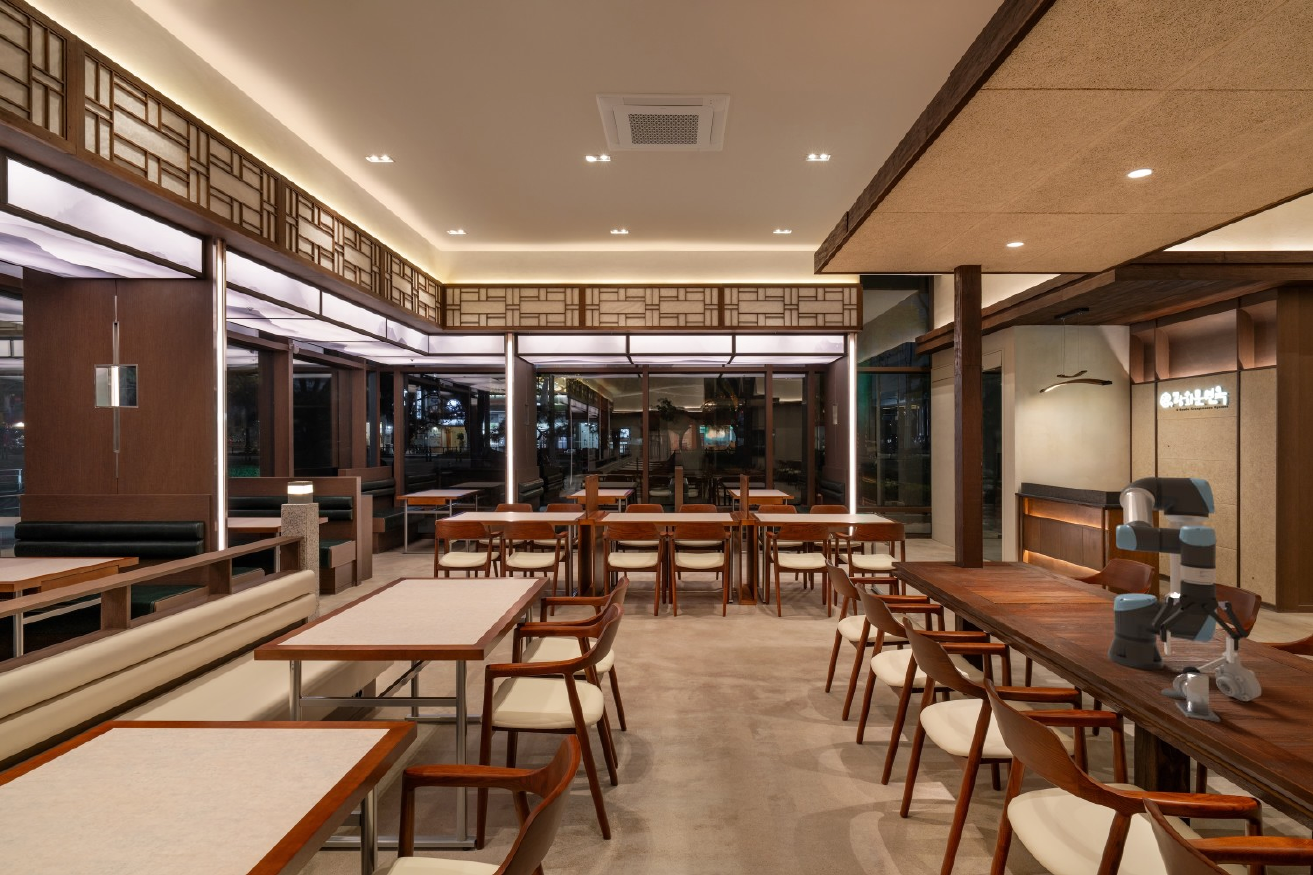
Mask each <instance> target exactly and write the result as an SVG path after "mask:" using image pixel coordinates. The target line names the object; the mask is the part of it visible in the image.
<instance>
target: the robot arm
mask: <svg viewBox="0 0 1313 875" xmlns="http://www.w3.org/2000/svg"><path fill="white" fill-rule="evenodd" d="M1119 494H1120V495H1119V503H1120V506H1121V507H1122V509H1123V510H1122V512H1123V524H1119V525H1116V529H1115V535H1116V536H1115V537H1116V539H1115V540H1116V544H1115V545H1116V547H1117V548H1118V549H1121V550H1128V551H1133V552H1134V551H1137V552H1138V551H1139V552H1148V553H1149V552H1150V553H1161V554H1162V553H1163V554H1169V570H1170V571H1169V573H1170V574H1169V575H1170V580H1169V581H1170V582H1169V583H1170V584H1169V585H1170V588H1169V590H1170V591H1169V592H1168V593H1167V594H1166V595H1164V601H1163V600H1158V598H1157V596H1155V595H1153V594H1147V593H1123V594H1122V593H1121V594H1119V595H1117V596H1115V598H1114V601H1113V602H1114V607H1113V611H1114V616H1113V617H1114V619H1113V620H1114V621H1113V622H1114V624H1113V625H1114V626H1113V627H1114V628H1113V629H1114V630H1113V639H1112V640H1111V643H1110V645H1109V648H1108V652H1107V657H1108V659H1109V660H1110V661H1111V662H1113V663H1116V664H1118V665H1121V666H1125V667H1128V668H1134V669H1138V670H1147V671H1148V670H1149V671H1150V670H1151V671H1155V670H1156V671H1157V670H1162V669H1163V668H1164V666H1165V665H1164V658H1163V656H1162V653H1161V650H1160V649H1159V648H1160V647H1159V646H1158V640H1157V638H1158V636H1159V639H1160V641H1161V642H1162V643H1163V645H1164V651H1163V652H1164V653H1165V655H1167V656H1172V654H1171V653H1172V652H1171V650H1172V646H1171V642H1172V641H1171V640H1172V639H1178V640H1185V641H1191V642H1197V643H1198V642H1200V643H1209V642H1212V640H1213V638H1214V635H1215V632H1216V628H1217V627H1216V626H1217V624H1218V625H1219V626H1220V627H1221V628H1222V629H1223V630H1224V631H1225V632H1226V633H1227V634H1228V636H1226V637H1225V641H1226V642H1225V645H1226V648H1225V649H1226V650H1225V651H1226V660H1227V661H1229V662H1230V663H1234V652H1236V651H1239V647H1240V646H1239V644H1240V643H1239V641H1240V640H1241V639H1246V638H1249V635H1248V634H1247V632H1246V630H1245V629H1244V626H1242V623H1241V622H1240V620H1239V618H1238V616H1236V614H1235V612H1234V611H1233V604H1232V603H1231V602H1229V601H1228V600H1223V601H1218V600H1217V584H1215V583H1216V582H1217V570H1216V569H1217V567H1216V564H1217V563H1216V562H1217V561H1216V560H1217V559H1216V558H1217V556H1216V554H1217V548H1216V547H1217V546H1216V545H1217V536H1216V530H1215V529H1214V528H1213V527H1211V526H1204V523H1205V522H1206V521H1208V520H1209V518H1210V516H1209V515H1211V514H1214V513H1216V512H1215V510H1216V508H1215V500H1214V499H1215V498H1214V494H1213V490H1212V487H1211V484H1210V483H1209V481H1208V480H1206V479H1204V478H1197V477H1196V478H1195V477H1194V478H1193V477H1163V476H1162V477H1158V476H1149V477H1142V478H1139V479H1136V480H1134V481H1131V482H1130V483H1129V484H1127V485H1126V486H1125V487H1123V489H1122V490H1121V492H1120V493H1119ZM1153 511H1160V512H1162V511H1163V517H1164V518H1165V519H1166V520H1168V523H1169V527H1158V526H1155V525H1154V518H1153ZM1154 526H1155V527H1154ZM1219 607H1220V609H1222V610H1223V611H1224V613H1225V614H1226V616H1227V618H1228V619H1229V621H1230V622H1231V624H1232V626H1233V628H1234V629H1235V630H1234V629H1232V627H1231V626H1229V625H1228V624H1227V623H1226V622H1225V621H1224V620H1223V619H1222V617H1220V615H1219V614H1218V609H1217V608H1219Z"/></svg>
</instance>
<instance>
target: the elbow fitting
mask: <svg viewBox="0 0 1313 875" xmlns="http://www.w3.org/2000/svg"><path fill="white" fill-rule="evenodd" d="M1209 678H1210V677H1209V676H1208V675H1206V674H1203V673H1201V674H1200V673H1194V672H1188V673H1187V674H1183V673H1181V674H1178V675H1177V676H1175V678H1174V679H1173V682H1172V687H1173V690H1175V691H1176V692H1177V693H1178V694H1179V695H1180V696H1182V697H1184V698H1186V699H1185V700H1186V702H1184V701H1178V700H1177V701H1175V702H1174V703H1175V706H1176V707H1177V708H1178V709H1179V710H1180V711H1181V712H1182V713H1183V715H1184V716H1185V717H1186V718H1188V717H1190V718H1189V719H1195V718H1196V719H1195V720H1202V719H1204V720H1203V721H1208V720H1210V721H1209V722H1215V723H1220V722H1221V718H1220V717H1219V716H1218V715H1217V714H1215V712H1214V711H1213V710H1212V709H1211V708H1210V705H1209V704H1210V699H1209V698H1210V694H1209V691H1210V689H1209V688H1210V685H1209V684H1210V681H1209V680H1210V679H1209Z"/></svg>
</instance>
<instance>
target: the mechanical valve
mask: <svg viewBox="0 0 1313 875" xmlns="http://www.w3.org/2000/svg"><path fill="white" fill-rule="evenodd" d="M1212 669H1214V677H1215V683H1216V685H1217V687H1218V689H1219V690H1220V691H1221V692H1222V693H1223V694H1225V695H1226V696H1229V697H1233V698H1235V699H1237V700H1239V701H1242V702H1248V701H1252V700H1253V699H1256V698H1259V697H1260V696H1261V695H1262V686H1261V685H1260V683H1259V681H1258V679H1257V677H1256V673H1255V672H1254V671H1253V670H1251V669H1250V670H1248V668H1246V667H1244V666H1243V665H1242V662H1241V659H1240V656H1239V654H1238V653H1237V652H1236V651H1234V663H1230V662H1229V661H1227V660H1226V650H1225V651H1224V652H1222V653H1221V657H1220V658H1218V659H1215V660H1212V661H1211V662H1208V663H1206V664H1204V665H1202V666H1199V667H1195V666H1191V665H1189V666H1186V667H1183V669H1182V674H1187V673H1188V672H1194V673H1200V674H1203V673H1204V672H1206V671H1209V670H1212Z"/></svg>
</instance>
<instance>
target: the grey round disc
mask: <svg viewBox="0 0 1313 875" xmlns="http://www.w3.org/2000/svg"><path fill="white" fill-rule="evenodd" d="M1160 691H1161V695H1162V696H1165V697H1168V698H1169V699H1173V700H1174V699H1175V700H1182V701H1183V700H1187V699H1186V698H1184V697H1182V696H1180V695H1179V694H1178V693H1177V692H1176V691H1175V689H1168V688H1164V689H1161V690H1160Z"/></svg>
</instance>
